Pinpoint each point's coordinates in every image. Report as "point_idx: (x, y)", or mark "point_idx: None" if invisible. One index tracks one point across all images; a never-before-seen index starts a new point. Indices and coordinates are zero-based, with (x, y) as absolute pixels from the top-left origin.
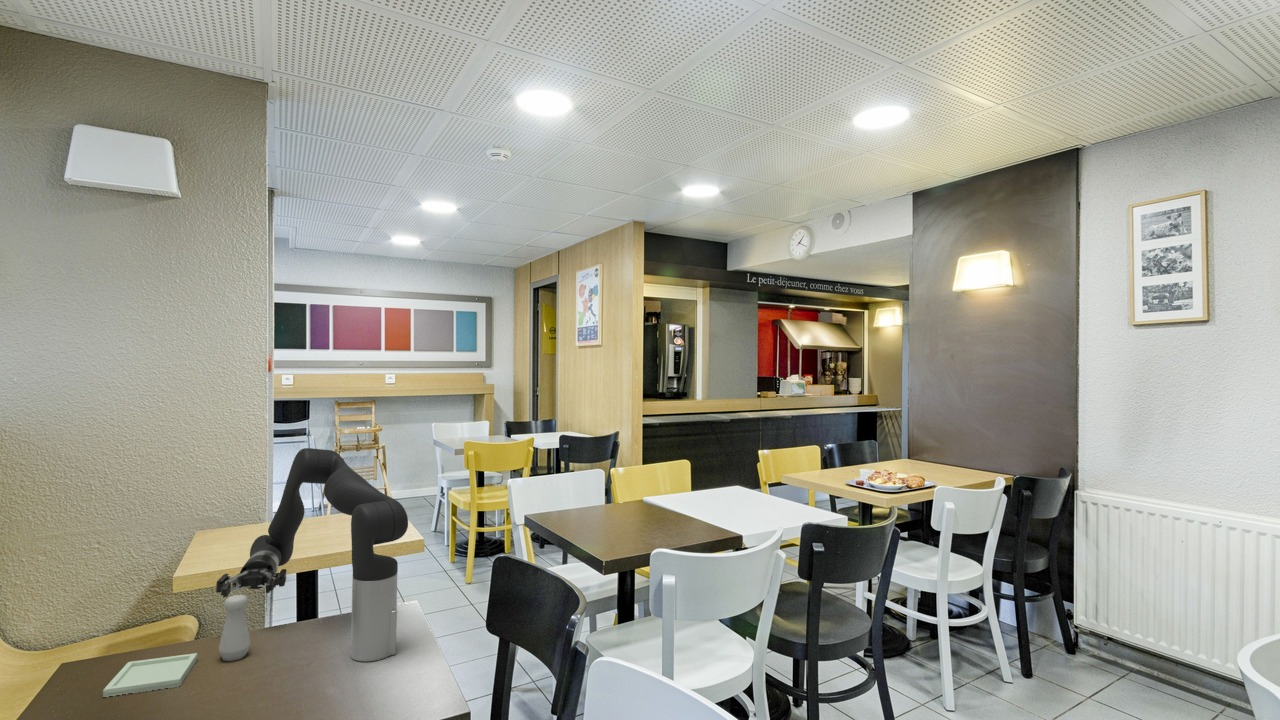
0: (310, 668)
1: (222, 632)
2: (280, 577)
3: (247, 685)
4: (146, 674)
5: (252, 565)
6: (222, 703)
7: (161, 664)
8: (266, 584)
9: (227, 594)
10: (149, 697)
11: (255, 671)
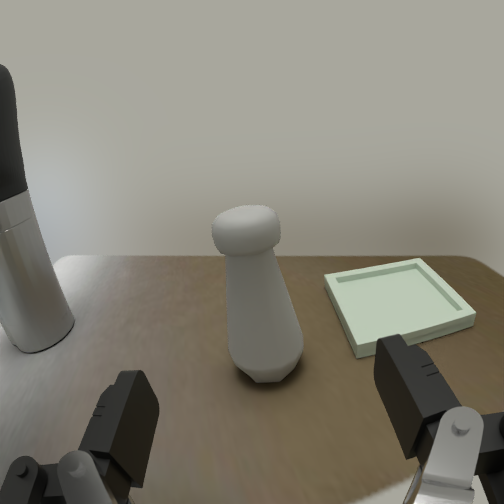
0: (130, 311)
1: (291, 302)
2: (37, 463)
3: (218, 286)
4: (406, 297)
5: None
6: None
7: (411, 323)
8: (136, 371)
9: (380, 384)
10: None
11: (211, 314)
